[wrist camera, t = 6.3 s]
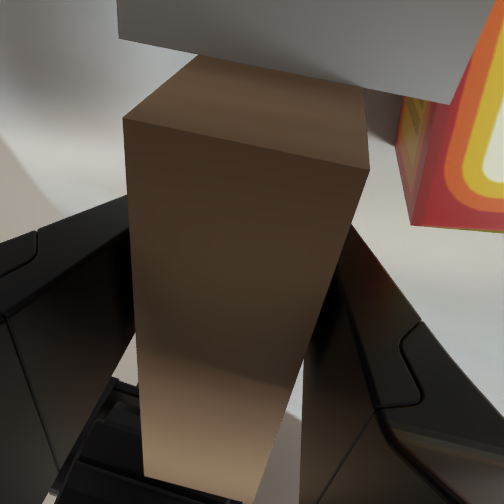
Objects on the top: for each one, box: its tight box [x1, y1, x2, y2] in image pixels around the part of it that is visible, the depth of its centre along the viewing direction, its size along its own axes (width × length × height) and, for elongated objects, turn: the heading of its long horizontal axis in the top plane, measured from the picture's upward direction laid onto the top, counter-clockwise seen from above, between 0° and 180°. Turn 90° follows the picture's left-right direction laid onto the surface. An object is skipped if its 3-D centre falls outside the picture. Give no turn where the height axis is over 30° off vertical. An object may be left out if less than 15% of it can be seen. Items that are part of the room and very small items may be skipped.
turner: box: [117, 0, 496, 504], centre depth 8 cm, size 16×6×4 cm, turn 172°
